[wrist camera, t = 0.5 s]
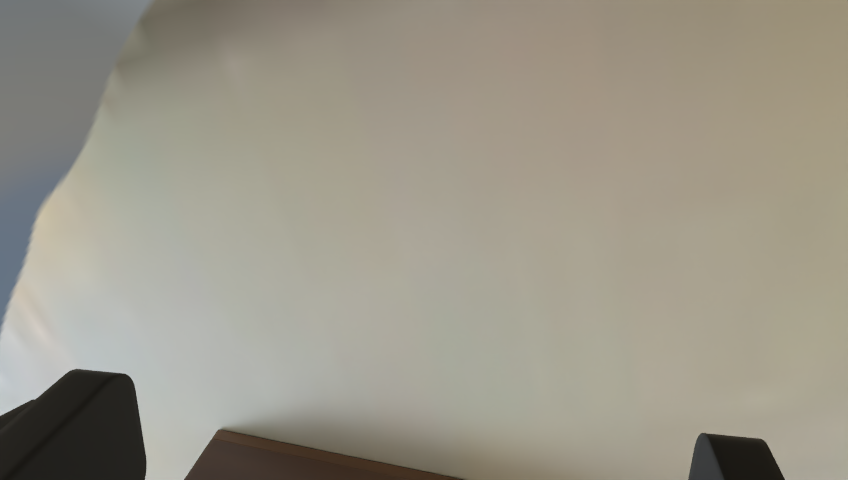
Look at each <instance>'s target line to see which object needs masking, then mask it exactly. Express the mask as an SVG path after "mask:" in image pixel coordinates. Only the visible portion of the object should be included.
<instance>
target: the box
mask: <svg viewBox="0 0 848 480" xmlns="http://www.w3.org/2000/svg"><path fill="white" fill-rule="evenodd" d="M184 480H462V479H457V478H452V477H447V476H443V475H438V474H433V473H428V472H423V471H418V470H413V469H409V468H404V467H399V466H394V465H389V464H384V463H379V462H374V461H370V460H365V459H360V458H355V457H350V456H345V455H340V454H336V453H331V452H326V451H321V450H316V449H311V448H306V447H302V446H297V445H292V444H287V443H282V442H277V441H272V440H267V439H263V438H258V437H253V436H248V435H243V434H238V433H233V432H229V431H224V430H218V431H217V432H216V434H215V435H214V437H213V438H212V439H211V441H210V442H209V444H208V445H207V447H206V448H205V450H204V451H203V453H202V454H201V456H200V457H199V458H198V460H197V461H196V463H195V464H194V466H193V467H192V469H191V470H190V472H189V473H188V475H187V476H186V478H185V479H184Z"/></svg>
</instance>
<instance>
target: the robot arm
mask: <svg viewBox="0 0 848 480" xmlns="http://www.w3.org/2000/svg"><path fill="white" fill-rule="evenodd" d="M145 475H146V455H145V448H144V442H143V436H142V429H141V423H140V416H139V410H138V404H137V397H136V391H135V386H134V383H133V381H132V379H131V378H130V377H129V376H128V375H126V374H121V373H111V372H101V371H91V370H81V369H75V370H72V371H69V372H68V373H67V374H65V375H64V376H63V377H62V378H60V379H59V380H58V381H57V382H56V383H55V384H53V385H52V386H51V387H50V388H49V389H48V390H46V391H45V392H44V393H43V394H42V395H41V396H39V397H38V398H37V399H36V400H31V401H29V402H27V403H25V404H23V405H21V406H19V407H17V408H15V409H13V410H11V411H9V412H7V413H5V414H4V415H2V416H0V480H145ZM688 480H785V479H784V477H783V475H782V473H781V471H780V469H779V467H778V465H777V463H776V461H775V459H774V457H773V455H772V453H771V451H770V449H769V447H768V445H767V444H766V442H765V441H764V440H762V439H756V438H746V437H736V436H726V435H716V434H706V433H702V434H700V435H699V436H698V438H697V441H696V444H695V448H694V453H693V459H692V464H691V469H690V474H689V479H688Z"/></svg>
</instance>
